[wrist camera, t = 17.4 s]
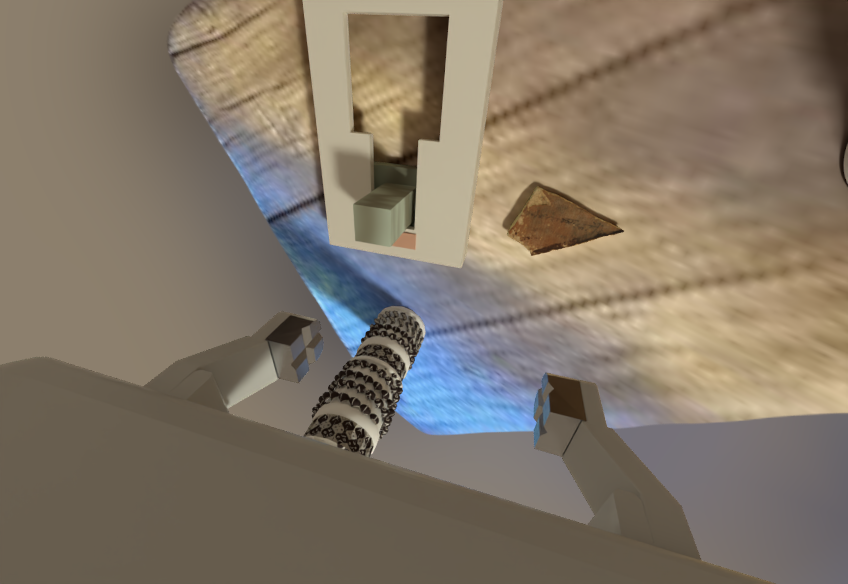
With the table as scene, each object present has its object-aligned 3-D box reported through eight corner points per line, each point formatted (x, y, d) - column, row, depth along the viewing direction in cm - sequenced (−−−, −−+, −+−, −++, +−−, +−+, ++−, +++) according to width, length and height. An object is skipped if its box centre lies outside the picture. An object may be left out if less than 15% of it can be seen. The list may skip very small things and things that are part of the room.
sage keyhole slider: (436, 168, 38) (410, 192, 30) (432, 231, 43) (408, 267, 34) (374, 161, 40) (332, 181, 31) (376, 222, 44) (339, 254, 36)
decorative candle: (366, 306, 53) (265, 443, 32) (418, 300, 49) (340, 449, 29) (385, 349, 57) (306, 494, 37) (434, 346, 53) (376, 505, 33)
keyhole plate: (504, -5, 29) (500, -18, 25) (466, 254, 43) (460, 268, 40) (323, -8, 32) (299, -20, 29) (343, 233, 47) (329, 245, 43)
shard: (621, 226, 37) (625, 232, 35) (576, 276, 41) (578, 283, 40) (538, 181, 37) (538, 185, 35) (502, 235, 41) (501, 241, 40)
